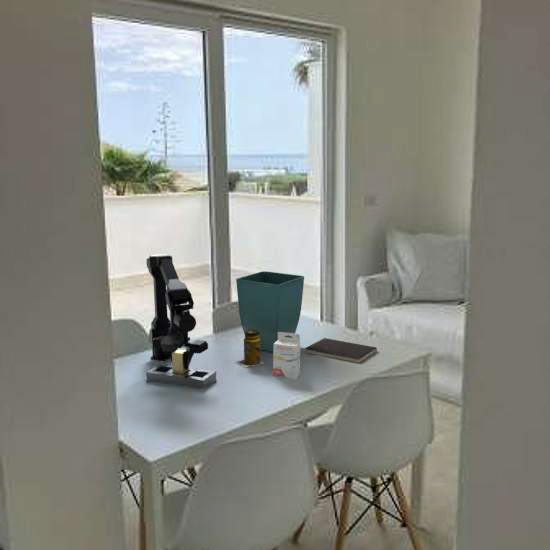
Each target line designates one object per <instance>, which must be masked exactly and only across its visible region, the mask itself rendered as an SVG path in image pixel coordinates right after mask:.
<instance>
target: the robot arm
mask: <svg viewBox="0 0 550 550" xmlns="http://www.w3.org/2000/svg"><path fill="white" fill-rule="evenodd" d="M146 267H147V269H148V270H147V271H148V273H149V275H151V277H152V278H153V281H152V282H153V296H154V317H153V320H152V321H151V322H150V329H149V333H148V342H149V343H150V345H151V347H152V350H151V351H152V355H151V356H150V357H149V358H150V359H151V360H157V361H167V360H169V359H170V361H171V362H170V363H172V353H173V352H175V351H176V350H178V349H182V348H185V350H186V351H184V352H183V354H184V356H185V370H187V369H188V367H189V368H190V364H191V361H192V360H193V359H192V358H193V357H194V355H195V354H202V353H203V352H205V351H207V350H209V343H208V342H207V341H206V340H202V339H197V340H195V341H192V342H190V341H191V336H189V333H190V332H192V331H193V330H194V329H195V328H196V326H197V319H196V317H194V316H193V315H192V314H191V311H190V310H193V309H194V305H195V302H194V299H193V296H192V293H191V292H190V289H189V288H188V286H187V285H186V283H185V282H183V281H181V280H180V278H179V276H178V273H177V271H176V268H175V265H174V262H173V256H172V255H171V254H167V253H165V254H153V255H149V257H148V258H146ZM168 310H169V317H168Z"/></svg>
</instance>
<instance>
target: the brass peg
mask: <svg viewBox="0 0 550 550" xmlns="http://www.w3.org/2000/svg"><path fill="white" fill-rule="evenodd" d="M184 351H186V349H185V350H184V349H181V348H178V350H176V351H175V352H173V353H172V362H171V365H172V366H173V374H179V375H185V374H186V373H188V372H189V368H190V366H189V367H188V369H187V370H185V356H184V354H183V352H184Z"/></svg>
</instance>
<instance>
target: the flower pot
mask: <svg viewBox="0 0 550 550" xmlns="http://www.w3.org/2000/svg"><path fill="white" fill-rule="evenodd" d="M235 282H236V294H237V303H238V312H239V313H238V314H239V319H240V324H241V327H242V330H243V334H244V335H245V331H247V330H257V331H259V338H260V350H262V351H267V352H271V353H273V344H274V343H275V342H276V341H277V340H278V332H285V333H294V334H296V332H297V329H298V325H299V321H300V317H301V314H302V313H301V311H302V305H303V304H302V303H303V296H304V295H303V294H304V286H305V285H304V283H305V276H304V275H299V274H291V273H282V272H274V271H263V270H262V271H259V272H256V273H252V274H248V275H245V276H241V277H238V278H235ZM285 337H287V338H292V336H289V335H288V336H285Z"/></svg>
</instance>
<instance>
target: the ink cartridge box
mask: <svg viewBox="0 0 550 550" xmlns="http://www.w3.org/2000/svg"><path fill="white" fill-rule="evenodd" d="M288 335H289V336H292V338H287V337H285V336H288ZM272 353H273V354H272V357H273V360H272V363H273V365H272V367H273V368H272V369H273V371H272V373H273V374H272V375H273V376H274V377H275V376H276V377H281V378H290V379H297V378H298V376H300V374H301V340H300V333H295V334H294V333H285V332H278V340H277V341H276V342H275V343H274V344H273V352H272Z"/></svg>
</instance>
